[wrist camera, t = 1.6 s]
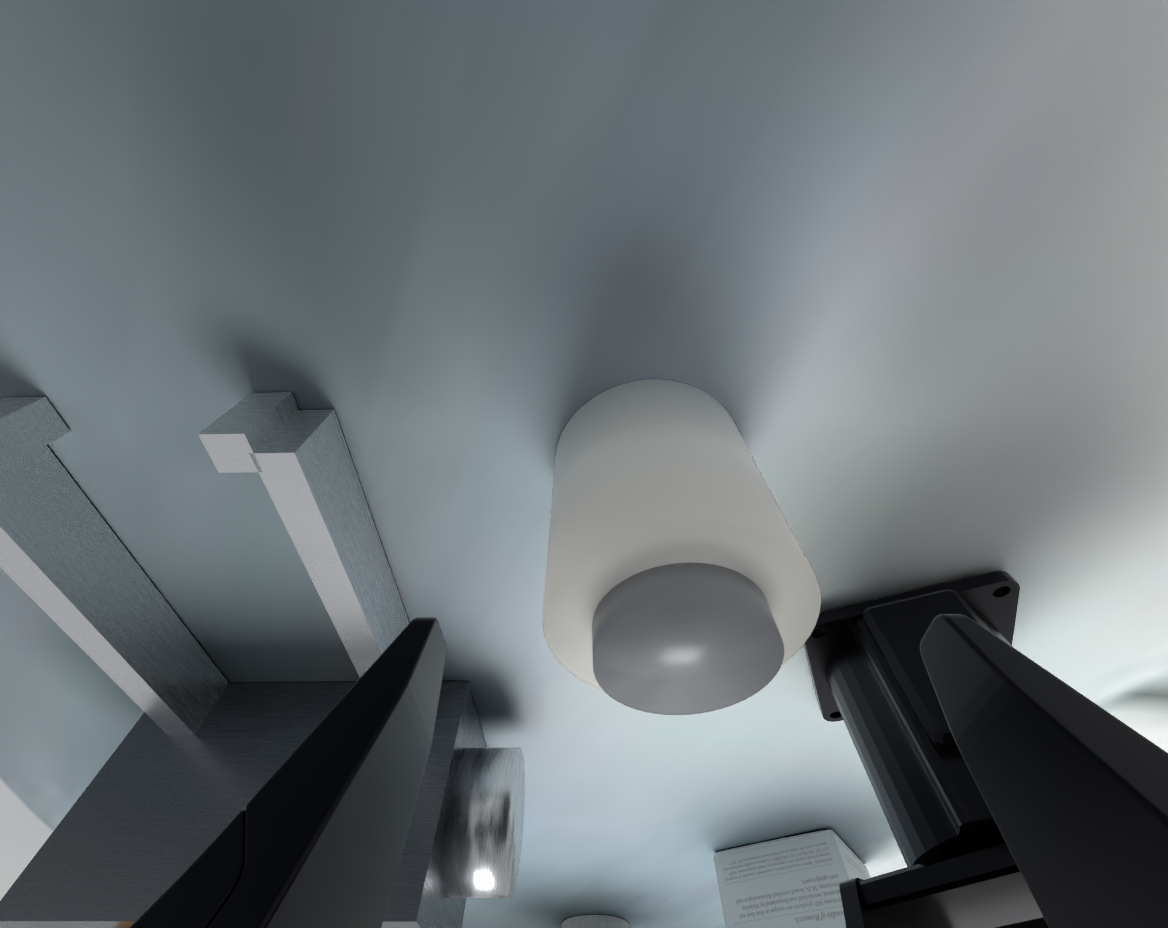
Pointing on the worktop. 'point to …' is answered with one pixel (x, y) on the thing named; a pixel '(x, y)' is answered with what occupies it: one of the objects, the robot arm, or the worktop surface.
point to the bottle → (670, 555)
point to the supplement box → (787, 882)
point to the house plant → (594, 922)
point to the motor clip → (231, 684)
